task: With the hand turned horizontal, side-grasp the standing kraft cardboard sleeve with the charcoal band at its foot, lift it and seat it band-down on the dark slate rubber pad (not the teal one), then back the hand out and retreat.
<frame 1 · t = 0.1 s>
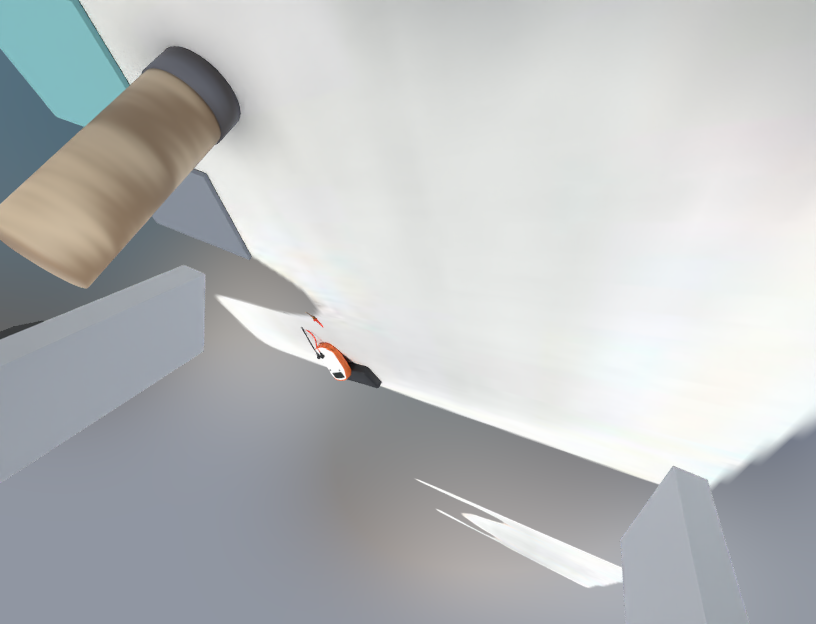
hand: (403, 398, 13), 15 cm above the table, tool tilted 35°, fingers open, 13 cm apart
teal seat: (66, 66, 34), on the table
banded sleeve: (201, 89, 30), on the table
slate seat: (179, 200, 45), on the table
multimeter: (326, 339, 64), on the table
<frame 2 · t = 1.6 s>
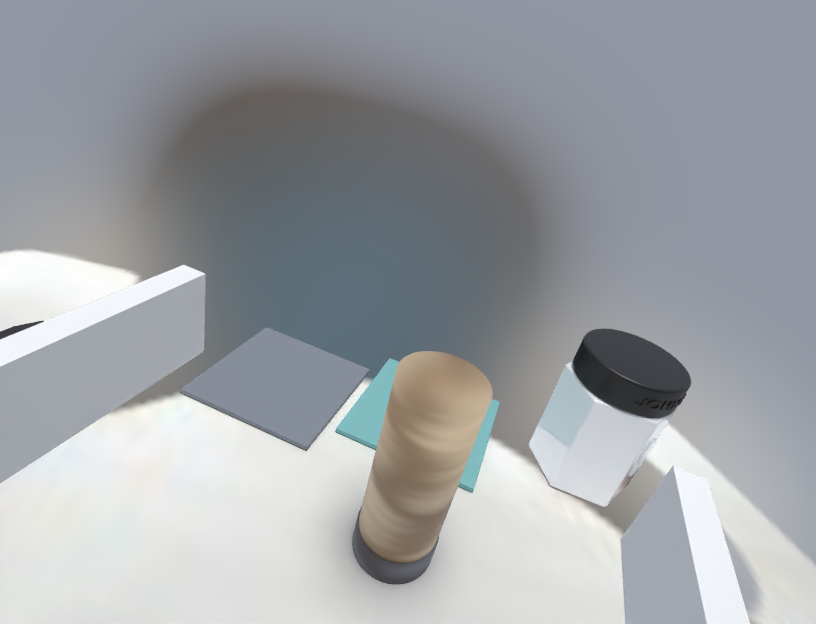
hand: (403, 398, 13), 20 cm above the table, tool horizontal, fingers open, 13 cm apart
teal seat: (424, 417, 43), on the table
banded sleeve: (392, 543, 31), on the table
slate seat: (283, 381, 43), on the table
jar: (575, 466, 42), on the table
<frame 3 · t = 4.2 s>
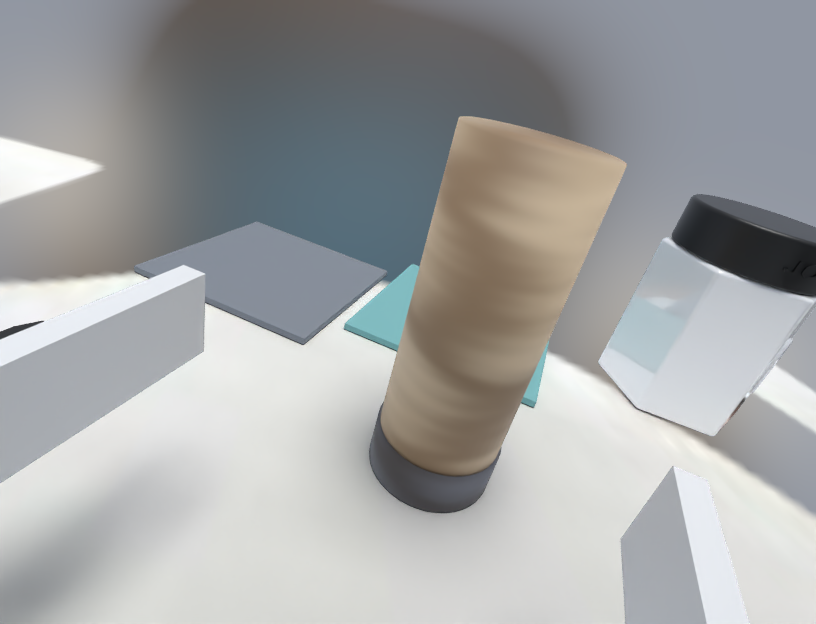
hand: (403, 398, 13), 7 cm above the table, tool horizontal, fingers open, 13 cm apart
teal seat: (460, 324, 32), on the table
banded sleeve: (428, 459, 21), on the table
slate seat: (275, 273, 33), on the table
jar: (662, 390, 31), on the table
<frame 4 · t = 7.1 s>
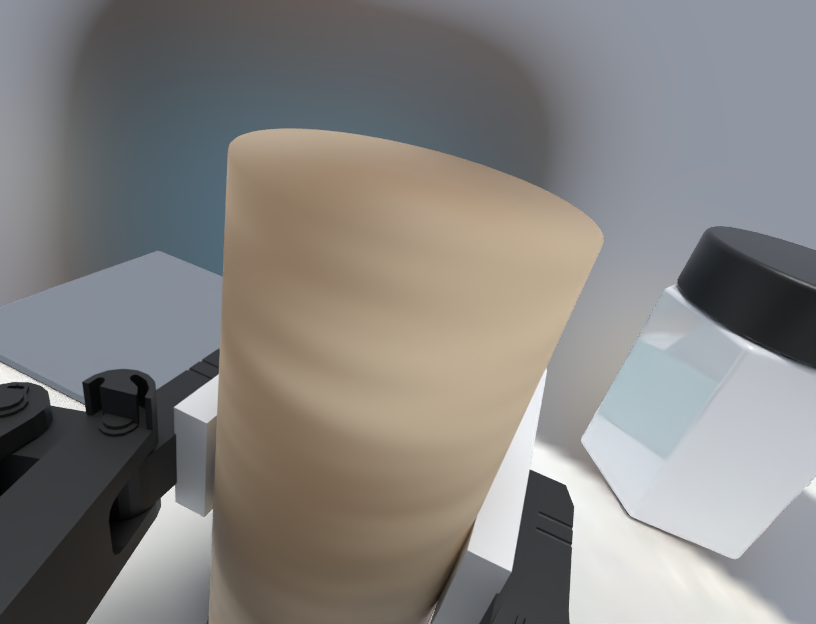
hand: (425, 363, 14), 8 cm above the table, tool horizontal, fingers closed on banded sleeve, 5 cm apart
slate seat: (159, 325, 25), on the table
jar: (664, 480, 24), on the table
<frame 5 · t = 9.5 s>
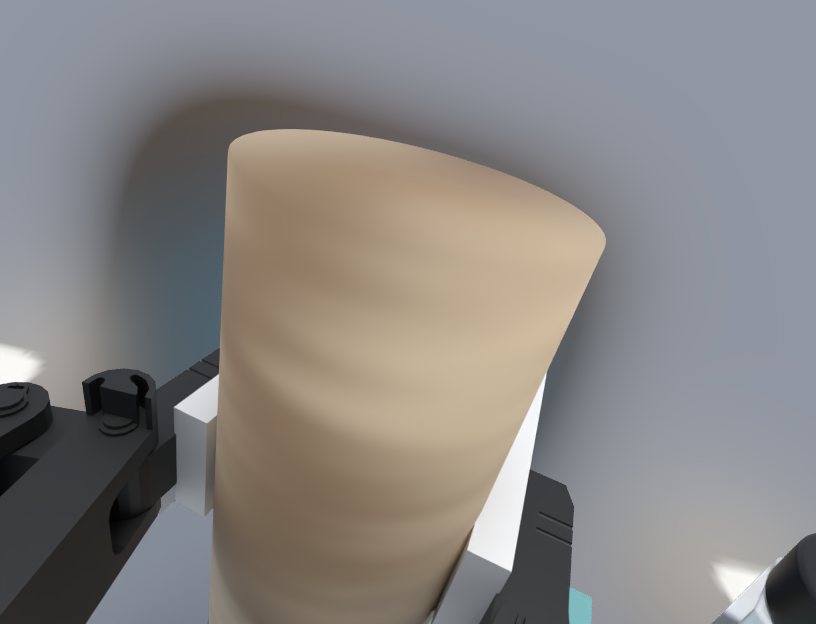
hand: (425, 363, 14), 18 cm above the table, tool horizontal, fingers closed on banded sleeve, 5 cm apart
slate seat: (236, 580, 25), on the table
when the fingers open (9 cm above the table, at t = 12.2 s): banded sleeve drops 1 cm, resting on slate seat.
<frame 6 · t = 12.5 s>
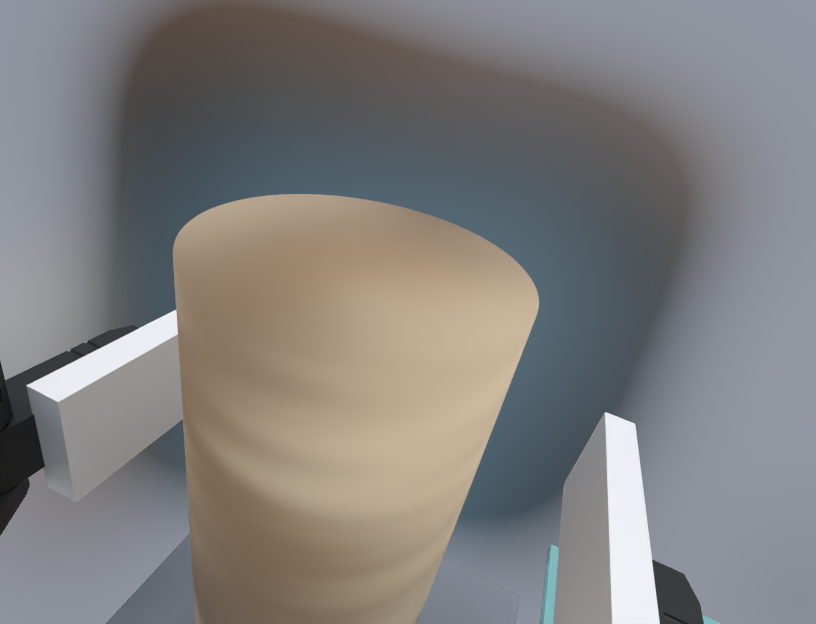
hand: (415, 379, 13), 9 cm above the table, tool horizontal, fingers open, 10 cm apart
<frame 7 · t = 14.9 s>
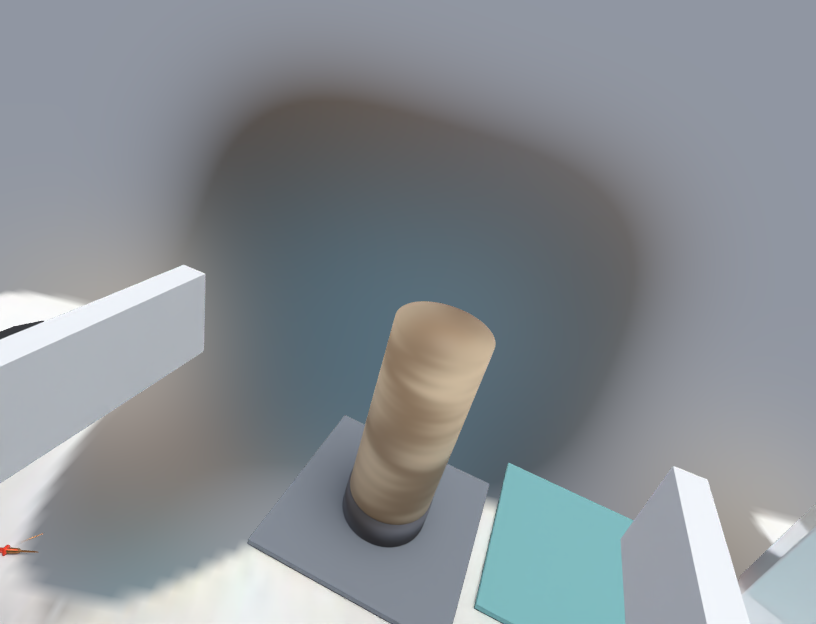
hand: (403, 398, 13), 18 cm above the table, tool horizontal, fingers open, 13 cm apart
teal seat: (579, 568, 31), on the table
banded sleeve: (384, 507, 30), resting on slate seat
slate seat: (383, 511, 30), on the table
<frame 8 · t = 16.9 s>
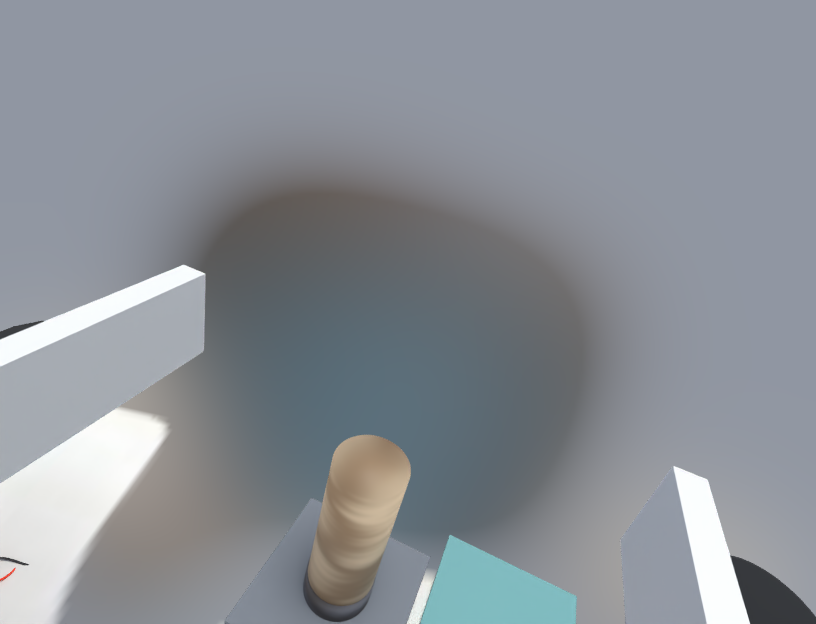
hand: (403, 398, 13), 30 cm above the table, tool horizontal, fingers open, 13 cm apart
banded sleeve: (337, 585, 37), resting on slate seat
slate seat: (337, 588, 38), on the table
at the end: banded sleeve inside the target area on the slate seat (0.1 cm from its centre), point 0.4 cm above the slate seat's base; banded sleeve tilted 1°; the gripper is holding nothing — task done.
